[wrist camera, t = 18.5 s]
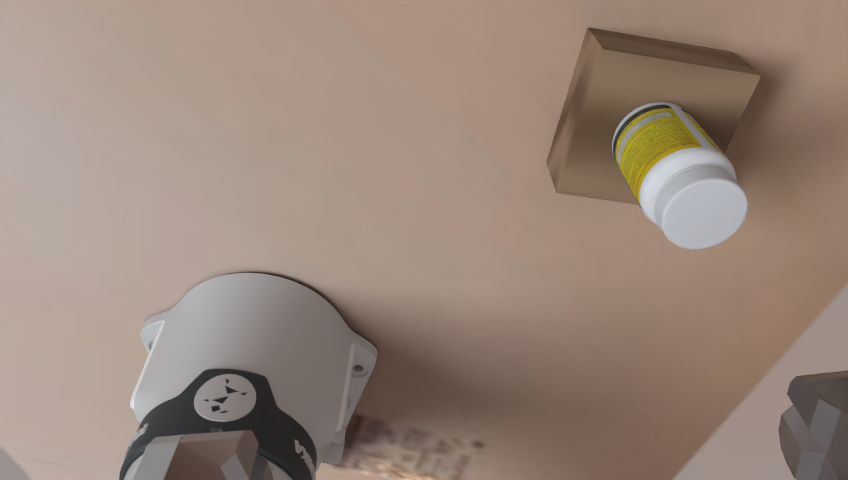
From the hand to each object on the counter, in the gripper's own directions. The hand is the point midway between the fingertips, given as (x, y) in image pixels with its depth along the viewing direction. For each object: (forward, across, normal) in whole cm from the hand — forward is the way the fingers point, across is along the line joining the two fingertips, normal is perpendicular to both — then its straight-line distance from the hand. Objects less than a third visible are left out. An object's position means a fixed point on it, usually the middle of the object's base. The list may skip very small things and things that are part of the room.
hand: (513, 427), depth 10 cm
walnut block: (+31, -10, +10) cm, 34 cm away
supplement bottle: (+27, -10, +10) cm, 31 cm away
